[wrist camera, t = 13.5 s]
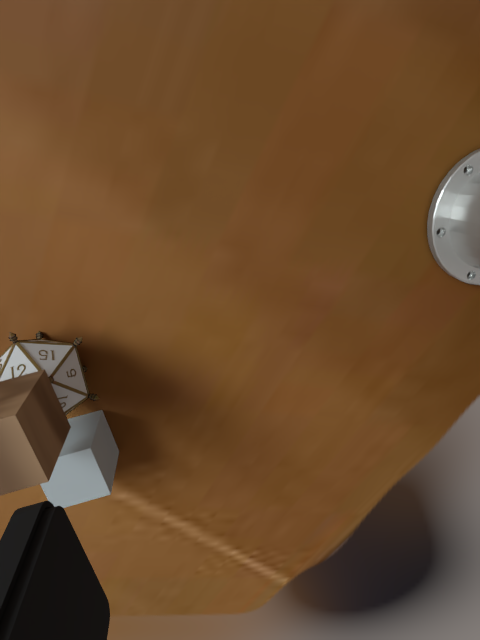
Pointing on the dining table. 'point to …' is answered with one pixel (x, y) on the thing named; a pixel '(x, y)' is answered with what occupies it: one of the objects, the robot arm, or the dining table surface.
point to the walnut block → (29, 431)
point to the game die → (49, 367)
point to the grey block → (84, 462)
